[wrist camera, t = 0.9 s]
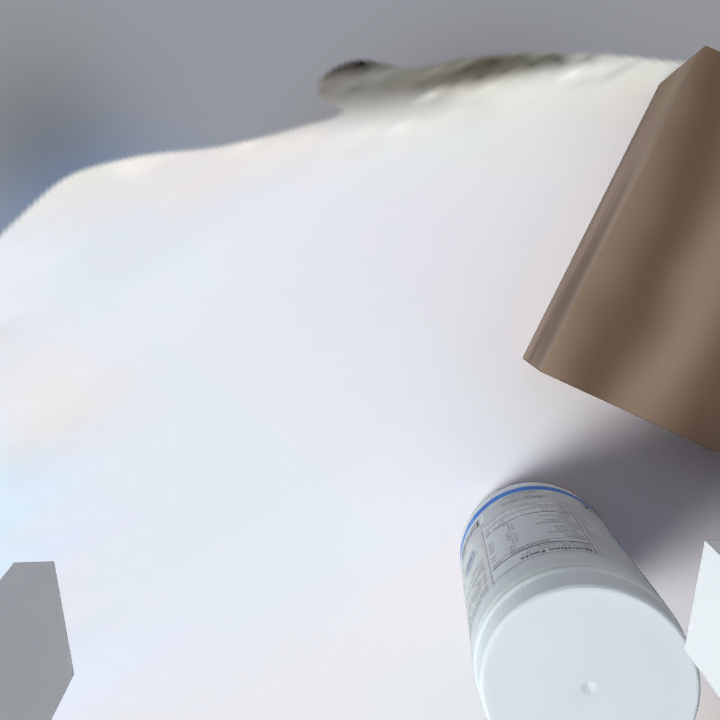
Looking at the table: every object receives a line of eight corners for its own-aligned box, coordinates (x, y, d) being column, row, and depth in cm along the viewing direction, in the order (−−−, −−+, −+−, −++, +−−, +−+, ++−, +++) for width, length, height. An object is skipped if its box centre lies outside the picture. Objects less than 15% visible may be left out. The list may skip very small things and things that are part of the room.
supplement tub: (626, 590, 41) (740, 761, 26) (488, 633, 42) (524, 819, 27) (575, 455, 40) (663, 553, 25) (436, 503, 41) (444, 624, 27)
